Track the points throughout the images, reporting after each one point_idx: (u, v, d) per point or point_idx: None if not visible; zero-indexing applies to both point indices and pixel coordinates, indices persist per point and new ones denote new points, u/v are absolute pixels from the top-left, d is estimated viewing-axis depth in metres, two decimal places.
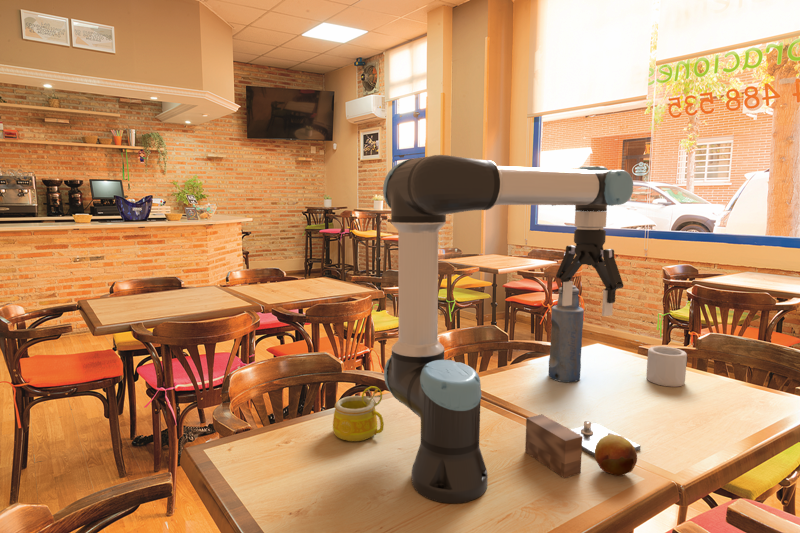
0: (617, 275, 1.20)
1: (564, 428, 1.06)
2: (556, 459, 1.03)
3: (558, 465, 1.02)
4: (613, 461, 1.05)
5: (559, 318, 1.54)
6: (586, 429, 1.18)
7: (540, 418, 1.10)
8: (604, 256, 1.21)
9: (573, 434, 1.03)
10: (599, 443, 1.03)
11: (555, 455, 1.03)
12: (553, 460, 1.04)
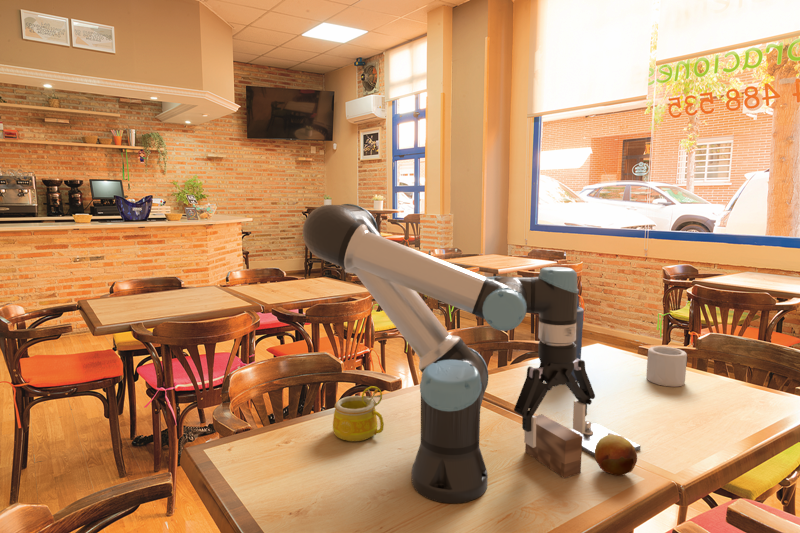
0: (523, 400, 1.01)
1: (564, 428, 1.06)
2: (556, 459, 1.03)
3: (558, 465, 1.02)
4: (613, 461, 1.05)
5: None
6: (586, 429, 1.18)
7: (540, 418, 1.10)
8: None
9: (573, 434, 1.03)
10: (599, 443, 1.03)
11: (555, 455, 1.03)
12: (553, 460, 1.04)
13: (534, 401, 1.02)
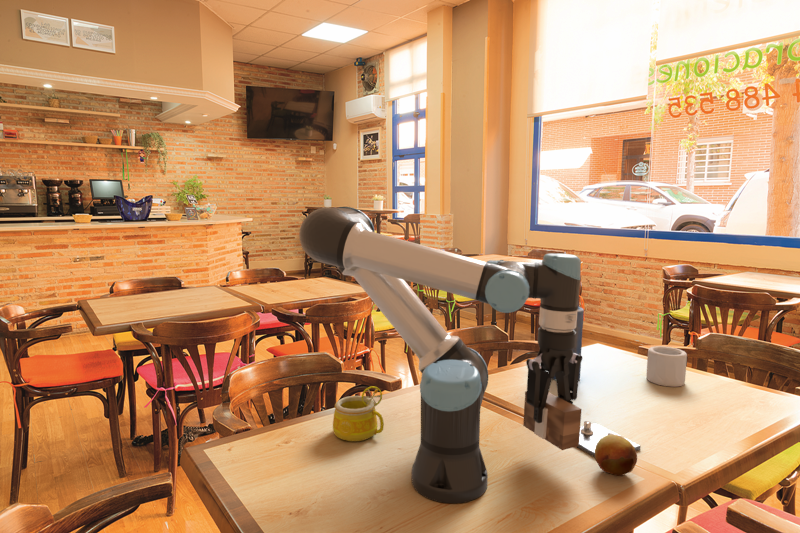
0: (531, 392, 1.03)
1: (563, 401, 1.05)
2: (554, 431, 1.02)
3: (556, 437, 1.02)
4: (613, 461, 1.05)
5: None
6: (586, 429, 1.18)
7: None
8: None
9: (572, 407, 1.02)
10: (599, 443, 1.03)
11: (554, 427, 1.02)
12: (551, 433, 1.03)
13: (542, 393, 1.03)
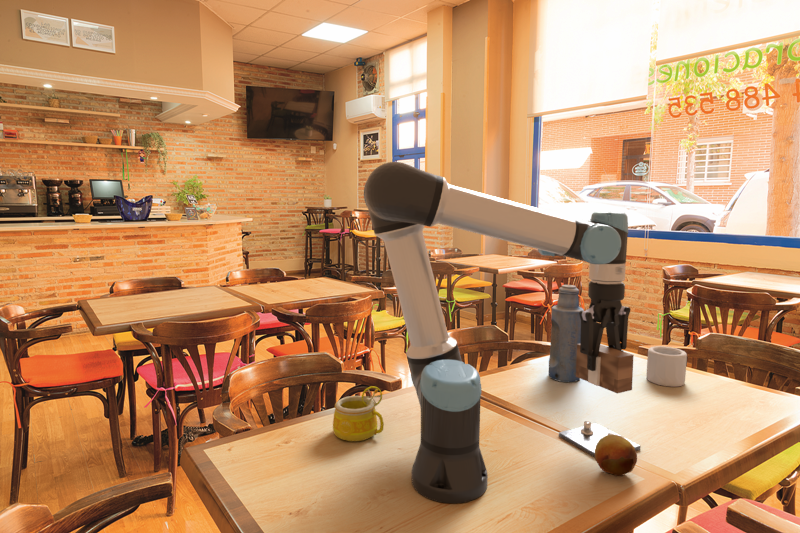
0: (585, 342, 1.10)
1: (615, 350, 1.12)
2: (609, 377, 1.09)
3: (611, 382, 1.09)
4: (613, 461, 1.05)
5: (559, 318, 1.54)
6: (586, 429, 1.18)
7: None
8: None
9: (624, 353, 1.09)
10: (599, 443, 1.03)
11: (608, 373, 1.09)
12: (605, 379, 1.10)
13: (595, 342, 1.10)
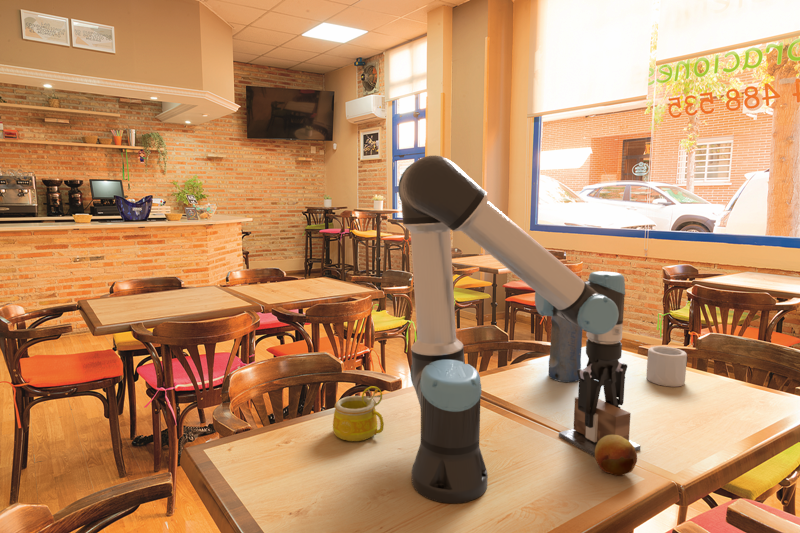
0: (582, 400, 1.12)
1: (612, 406, 1.14)
2: (606, 434, 1.11)
3: None
4: (613, 461, 1.05)
5: (559, 318, 1.54)
6: None
7: None
8: None
9: (621, 411, 1.11)
10: (599, 443, 1.03)
11: (605, 430, 1.11)
12: (602, 436, 1.12)
13: (592, 400, 1.12)
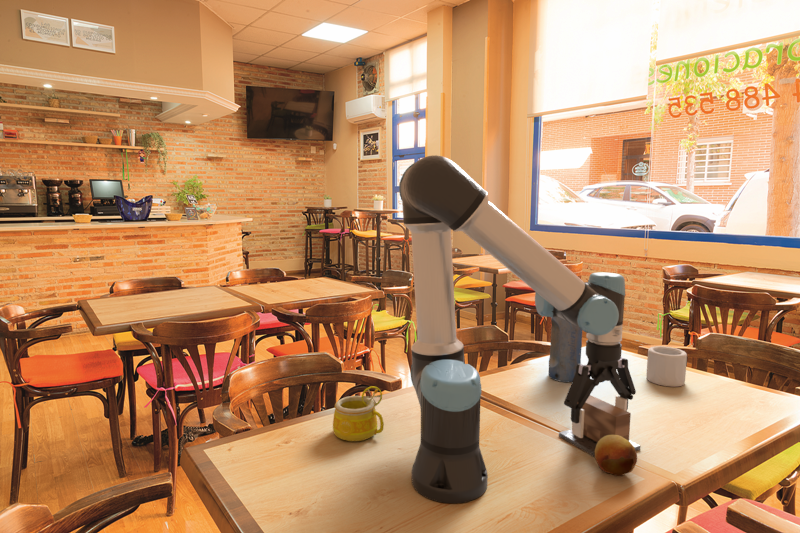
0: (572, 394, 1.10)
1: (612, 406, 1.14)
2: (606, 434, 1.11)
3: None
4: (613, 461, 1.05)
5: (559, 318, 1.54)
6: None
7: (588, 398, 1.19)
8: None
9: (622, 411, 1.11)
10: (599, 443, 1.03)
11: (605, 430, 1.11)
12: (603, 436, 1.12)
13: (582, 395, 1.11)
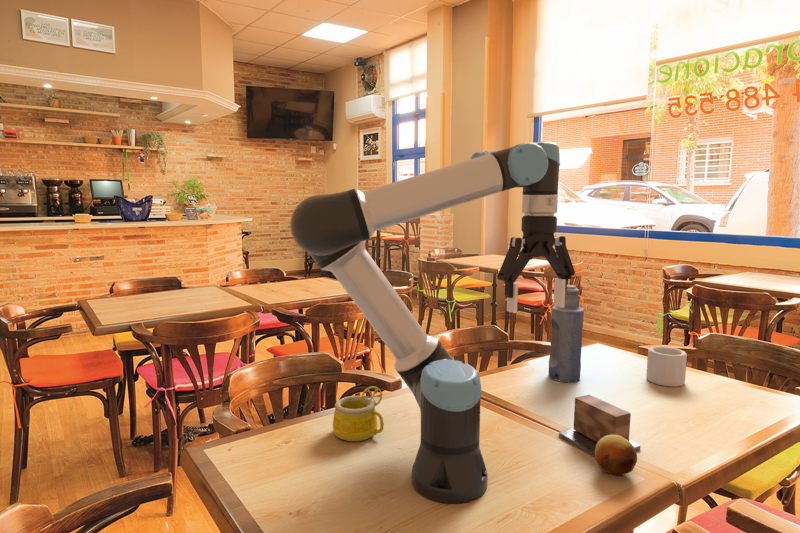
0: (505, 266, 1.07)
1: (612, 406, 1.14)
2: (606, 434, 1.11)
3: None
4: (613, 461, 1.05)
5: (559, 318, 1.54)
6: None
7: (588, 398, 1.19)
8: None
9: (622, 411, 1.11)
10: (599, 443, 1.03)
11: (605, 430, 1.11)
12: (603, 436, 1.12)
13: (516, 269, 1.08)
